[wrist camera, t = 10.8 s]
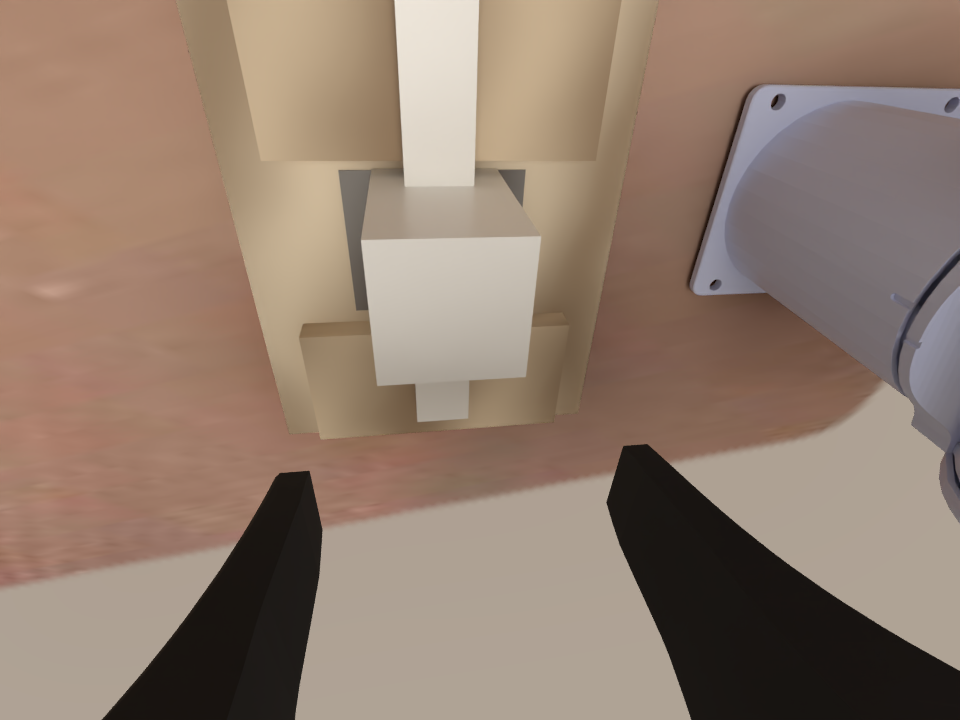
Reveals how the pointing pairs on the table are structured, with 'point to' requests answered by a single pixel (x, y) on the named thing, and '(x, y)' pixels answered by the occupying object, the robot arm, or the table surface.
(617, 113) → the display stand
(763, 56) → the table surface
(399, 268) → the cube skewered by beam
